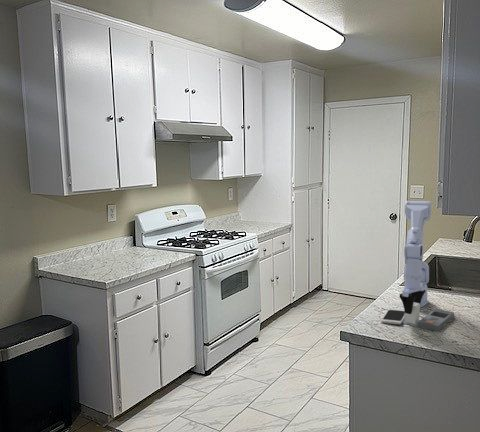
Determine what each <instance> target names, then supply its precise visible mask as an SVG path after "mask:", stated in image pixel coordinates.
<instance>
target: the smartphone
mask: <svg viewBox="0 0 480 432" xmlns="http://www.w3.org/2000/svg"><path fill="white" fill-rule="evenodd" d="M404 319H405V310H404V308H402V309H400V308H392V307H391V308H388V310H387V311H386V313H385V314H384V316H383V317H382V319H381V321H380V322H381V323H382V324H392V325H402V324H403V323H402V321H403V320H404Z"/></svg>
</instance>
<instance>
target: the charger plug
mask: <svg viewBox="0 0 480 432" xmlns="http://www.w3.org/2000/svg"><path fill="white" fill-rule="evenodd" d="M420 308H421V307H420V303H415V302H414V303H413V308H412V313H411V314H407V313H405V318H404V319H405V322H407V323H412V324H416V323H418V321H419V320H420V314H421V313H420V312H421V309H420Z"/></svg>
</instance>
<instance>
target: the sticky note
mask: <svg viewBox="0 0 480 432" xmlns="http://www.w3.org/2000/svg"><path fill="white" fill-rule="evenodd" d="M420 320H421V319H419V321H420ZM401 324H405V325H408V326H412V327H418V323H416V324H412V323H407V322H405V318H404V320H403V321H402V323H401Z"/></svg>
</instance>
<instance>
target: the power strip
mask: <svg viewBox="0 0 480 432" xmlns="http://www.w3.org/2000/svg"><path fill="white" fill-rule="evenodd" d="M454 318H455V312H453V311H448V310H444V309H439V308H434V309H433V310H431V312H429V313H428V314H426V315H425V316H424V317H422V318H421V319H419V320H420V321H418V327H419V328H421V329H422V328H423V329H424V330H425V329H426V330H430V331H434V332H439V331H440V330H441V329H443V327H445V326H446V325H447V324H448V323H449V322H450V321H452V320H453V319H454Z"/></svg>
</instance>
